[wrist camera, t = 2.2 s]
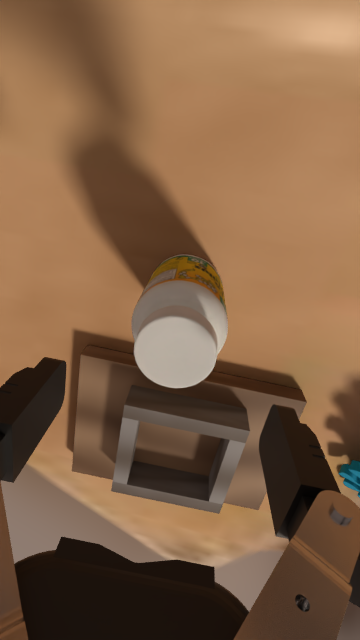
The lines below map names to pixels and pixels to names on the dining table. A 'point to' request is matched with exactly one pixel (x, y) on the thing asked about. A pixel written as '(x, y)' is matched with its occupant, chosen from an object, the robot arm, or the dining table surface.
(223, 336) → the supplement bottle
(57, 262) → the dining table surface
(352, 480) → the gear
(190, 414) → the socket stand
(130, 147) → the dining table surface
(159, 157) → the dining table surface
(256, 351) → the dining table surface
